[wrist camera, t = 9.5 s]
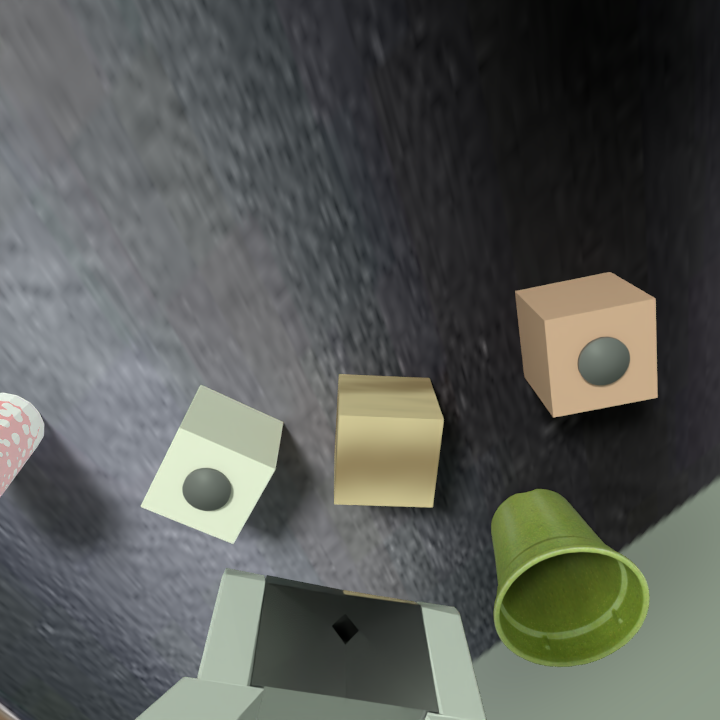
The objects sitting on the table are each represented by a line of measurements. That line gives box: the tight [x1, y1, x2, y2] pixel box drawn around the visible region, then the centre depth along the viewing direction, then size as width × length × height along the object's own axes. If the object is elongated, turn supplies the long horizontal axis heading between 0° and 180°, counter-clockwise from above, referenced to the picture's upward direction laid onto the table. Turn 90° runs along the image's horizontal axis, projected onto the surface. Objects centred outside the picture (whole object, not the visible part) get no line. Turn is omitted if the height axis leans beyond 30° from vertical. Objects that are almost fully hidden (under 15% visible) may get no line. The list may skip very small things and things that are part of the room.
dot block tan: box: [515, 272, 658, 418], centre depth 37 cm, size 6×6×6 cm
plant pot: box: [491, 489, 649, 667], centre depth 41 cm, size 9×9×9 cm
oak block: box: [334, 374, 444, 507], centre depth 39 cm, size 6×6×6 cm
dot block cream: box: [141, 385, 283, 544], centre depth 39 cm, size 6×6×6 cm
